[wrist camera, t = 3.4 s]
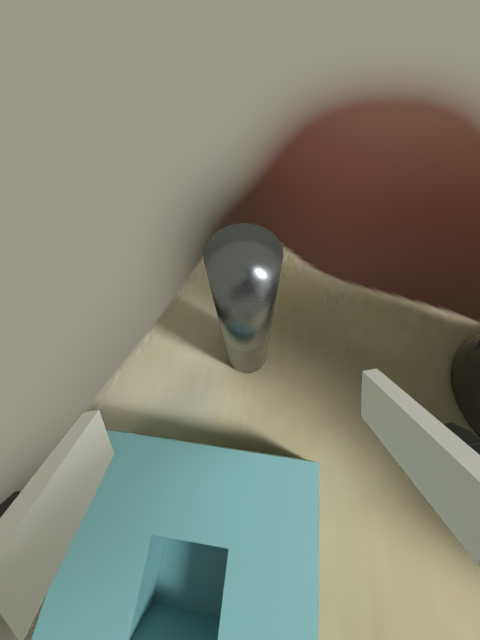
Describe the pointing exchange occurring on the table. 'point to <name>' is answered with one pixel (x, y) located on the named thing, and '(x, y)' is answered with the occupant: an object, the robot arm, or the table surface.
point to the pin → (244, 289)
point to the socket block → (191, 548)
